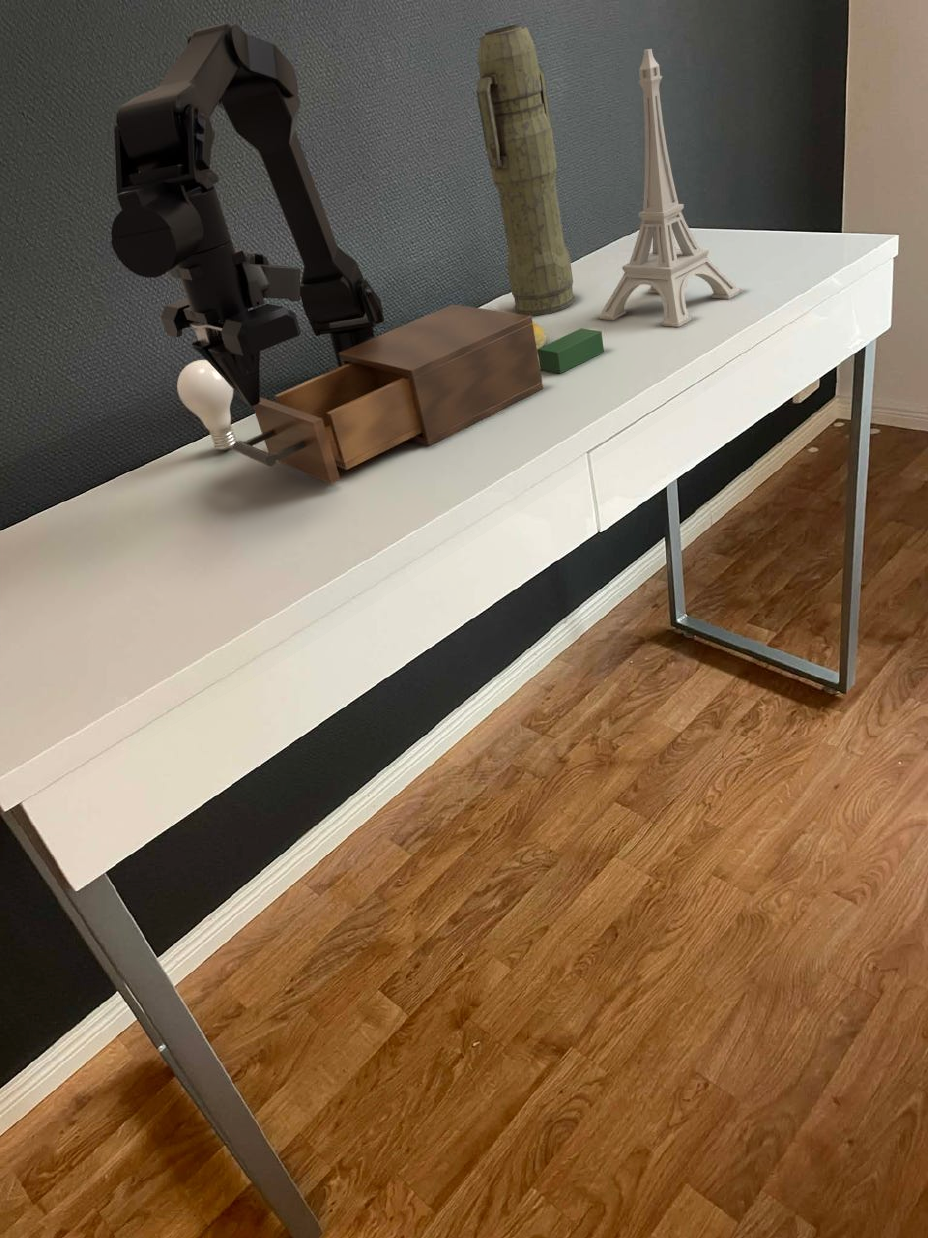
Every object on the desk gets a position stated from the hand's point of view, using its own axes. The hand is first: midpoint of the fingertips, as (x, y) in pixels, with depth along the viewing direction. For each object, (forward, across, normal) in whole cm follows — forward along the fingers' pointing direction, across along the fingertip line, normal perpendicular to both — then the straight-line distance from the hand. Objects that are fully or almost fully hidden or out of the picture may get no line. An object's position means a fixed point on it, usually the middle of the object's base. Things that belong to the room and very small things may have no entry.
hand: (254, 404), depth 98 cm
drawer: (+9, 0, -8) cm, 12 cm away
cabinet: (+10, 0, -23) cm, 25 cm away
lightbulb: (+10, +17, -2) cm, 20 cm away
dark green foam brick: (+10, -4, -40) cm, 41 cm away
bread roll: (+10, +7, -40) cm, 42 cm away
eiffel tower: (+10, -2, -60) cm, 61 cm away
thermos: (+10, +17, -55) cm, 58 cm away
